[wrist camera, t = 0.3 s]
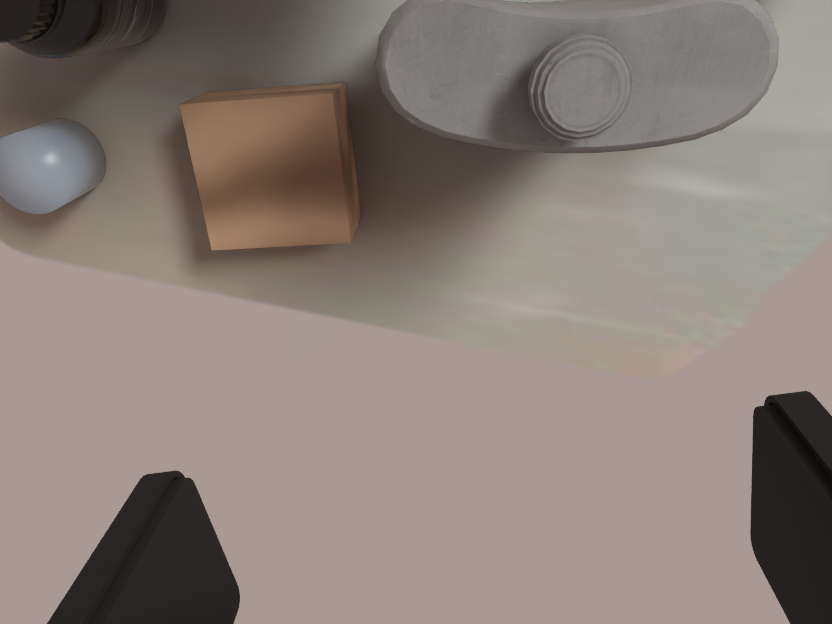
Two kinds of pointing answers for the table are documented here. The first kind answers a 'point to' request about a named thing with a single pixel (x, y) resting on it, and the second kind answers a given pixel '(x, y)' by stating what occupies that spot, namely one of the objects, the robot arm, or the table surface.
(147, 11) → the supplement bottle
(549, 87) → the flask
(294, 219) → the walnut block
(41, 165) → the grey rounded pebble
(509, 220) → the table surface
